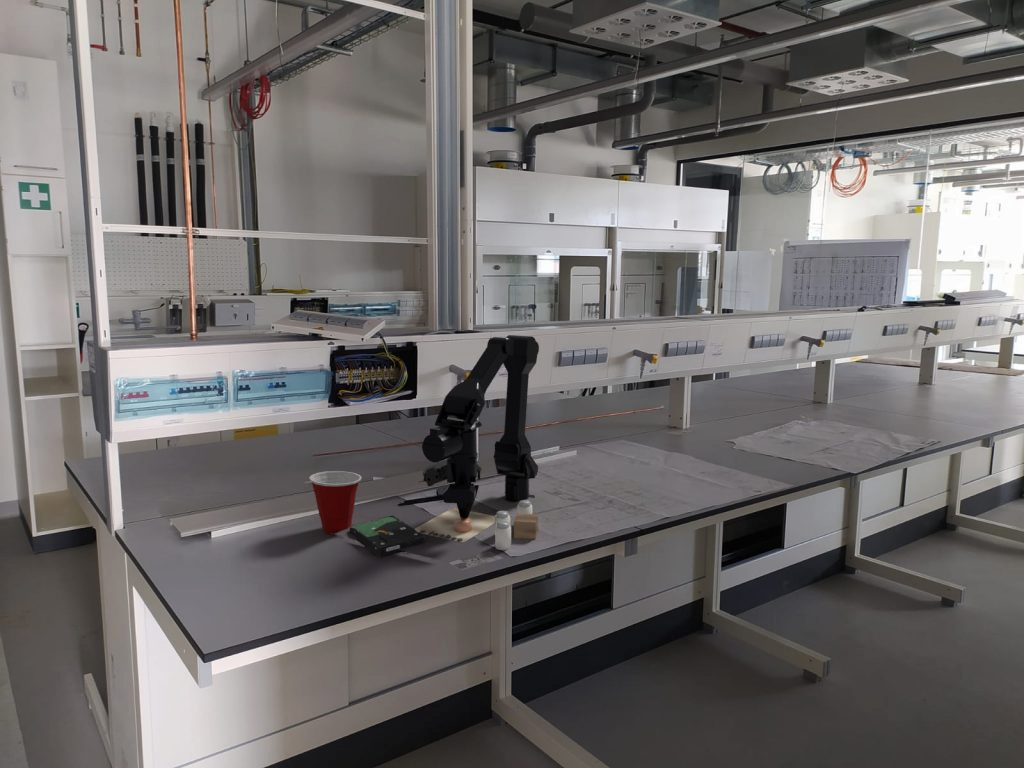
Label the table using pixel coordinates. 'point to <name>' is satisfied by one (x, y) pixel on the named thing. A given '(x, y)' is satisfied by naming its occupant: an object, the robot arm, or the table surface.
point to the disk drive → (386, 535)
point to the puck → (463, 525)
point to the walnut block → (526, 526)
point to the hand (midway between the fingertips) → (464, 521)
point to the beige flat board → (446, 526)
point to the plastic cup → (335, 498)
